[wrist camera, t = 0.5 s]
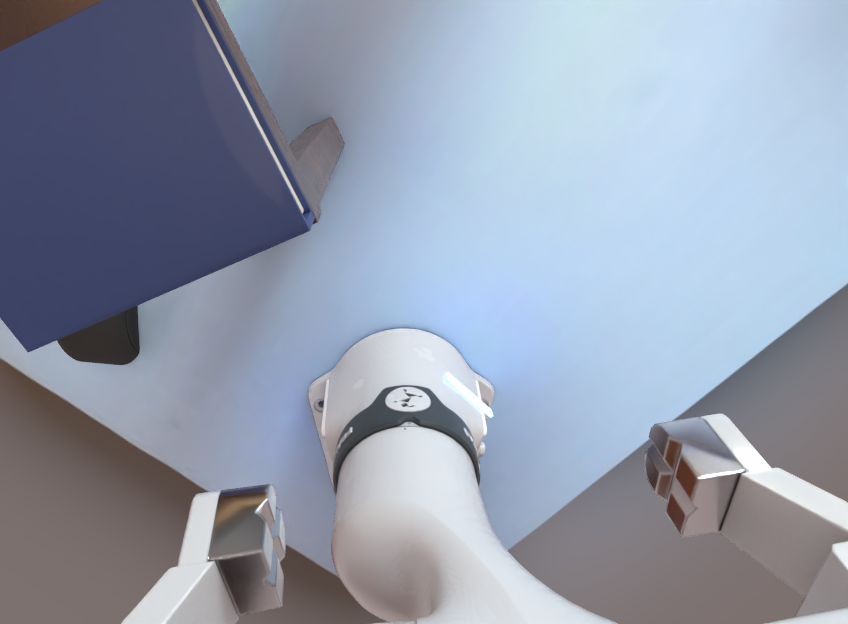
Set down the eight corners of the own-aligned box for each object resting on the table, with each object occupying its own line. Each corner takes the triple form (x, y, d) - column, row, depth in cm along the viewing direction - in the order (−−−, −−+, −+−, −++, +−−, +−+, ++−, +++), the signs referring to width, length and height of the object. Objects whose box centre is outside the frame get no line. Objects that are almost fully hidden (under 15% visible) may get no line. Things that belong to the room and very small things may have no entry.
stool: (226, -120, 42) (36, -331, 19) (348, 145, 50) (318, 222, 27) (58, -35, 43) (-307, -135, 20) (202, 210, 51) (56, 335, 28)
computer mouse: (134, 251, 52) (115, 266, 48) (140, 362, 57) (123, 383, 53) (59, 243, 51) (34, 257, 48) (71, 355, 56) (49, 377, 52)
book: (191, -27, 23) (172, -35, 21) (315, 217, 27) (309, 230, 25) (-109, 121, 24) (-154, 127, 22) (53, 331, 28) (27, 352, 26)
